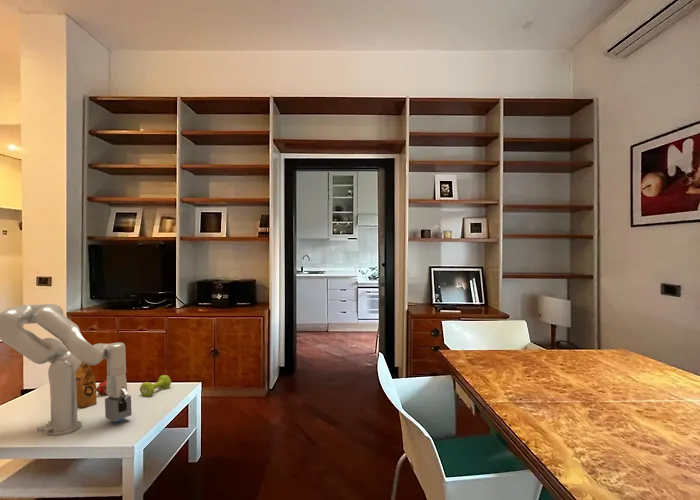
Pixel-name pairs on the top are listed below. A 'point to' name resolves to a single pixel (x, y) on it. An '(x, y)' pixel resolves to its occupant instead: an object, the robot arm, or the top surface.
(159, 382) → the dumbbell
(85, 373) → the coffee package
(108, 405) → the grey square block
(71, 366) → the robot arm
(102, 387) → the dragon fruit
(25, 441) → the top surface
